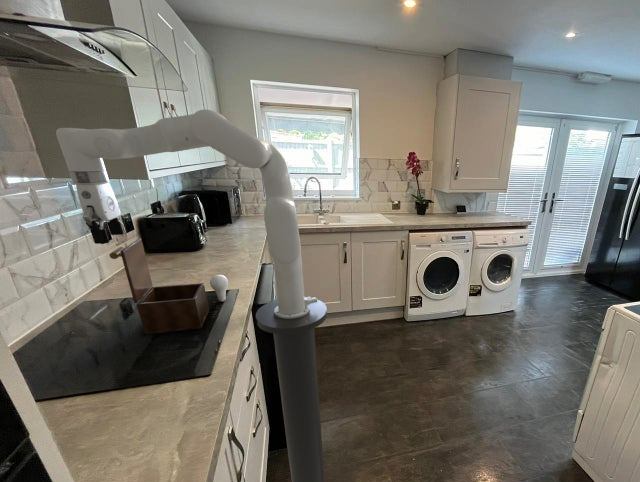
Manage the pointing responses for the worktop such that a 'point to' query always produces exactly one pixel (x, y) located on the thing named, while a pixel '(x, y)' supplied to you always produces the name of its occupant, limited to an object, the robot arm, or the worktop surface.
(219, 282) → the lightbulb
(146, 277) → the lid
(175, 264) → the worktop surface
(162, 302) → the chest
